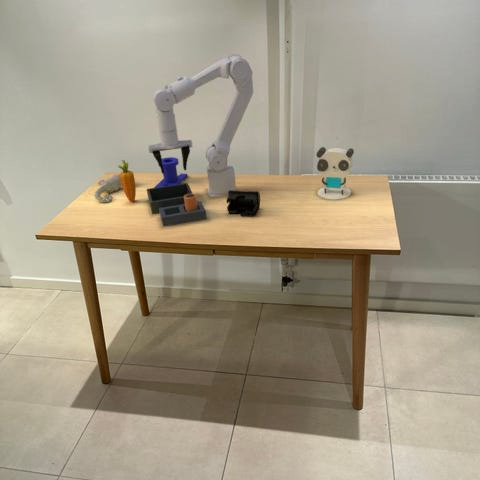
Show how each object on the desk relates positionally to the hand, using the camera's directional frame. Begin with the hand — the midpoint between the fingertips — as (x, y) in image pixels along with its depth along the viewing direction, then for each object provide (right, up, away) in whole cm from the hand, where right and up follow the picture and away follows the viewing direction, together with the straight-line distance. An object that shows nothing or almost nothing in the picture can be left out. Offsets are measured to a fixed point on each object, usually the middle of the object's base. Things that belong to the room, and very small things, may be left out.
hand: (174, 170), depth 161 cm
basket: (-1, -11, +2) cm, 11 cm away
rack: (+4, -18, -8) cm, 21 cm away
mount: (-3, +1, +18) cm, 18 cm away
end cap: (+24, -16, -6) cm, 29 cm away
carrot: (-15, -10, +5) cm, 19 cm away
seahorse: (-24, -4, +14) cm, 28 cm away
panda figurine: (+55, -7, +2) cm, 56 cm away
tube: (+7, -18, -8) cm, 21 cm away
